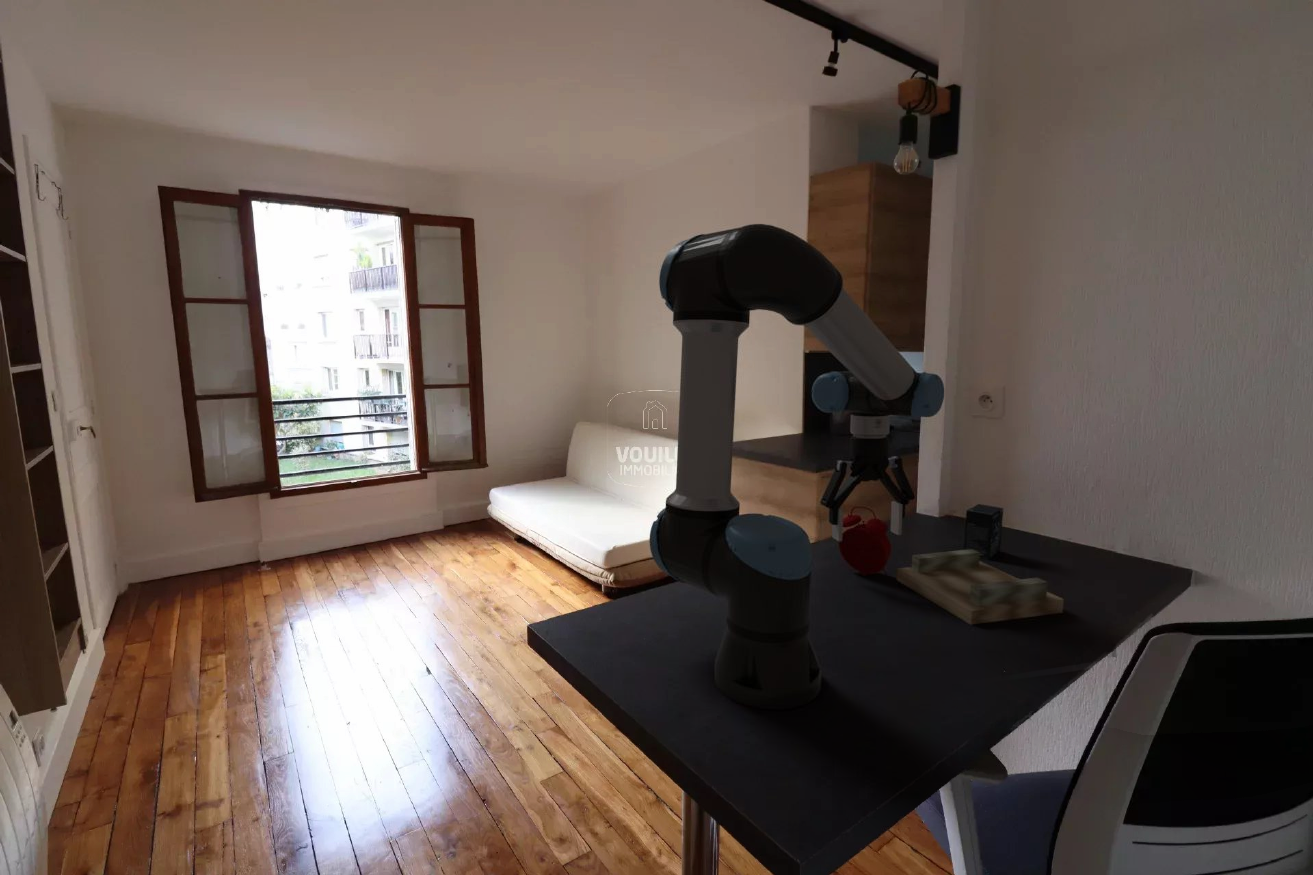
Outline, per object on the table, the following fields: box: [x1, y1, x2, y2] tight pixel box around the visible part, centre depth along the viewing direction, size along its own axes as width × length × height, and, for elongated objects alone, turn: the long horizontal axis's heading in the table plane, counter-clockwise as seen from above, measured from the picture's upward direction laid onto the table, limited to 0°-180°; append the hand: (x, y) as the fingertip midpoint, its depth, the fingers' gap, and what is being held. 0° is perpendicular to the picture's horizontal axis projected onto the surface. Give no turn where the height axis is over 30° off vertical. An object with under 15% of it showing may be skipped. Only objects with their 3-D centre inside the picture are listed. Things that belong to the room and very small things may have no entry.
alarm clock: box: [838, 505, 892, 577], centre depth 127 cm, size 10×6×15 cm, turn 45°
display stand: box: [896, 549, 1065, 626], centre depth 116 cm, size 19×21×6 cm
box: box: [963, 503, 1004, 561], centre depth 140 cm, size 8×6×11 cm
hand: (866, 536), depth 127 cm, fingers open, 13 cm apart
